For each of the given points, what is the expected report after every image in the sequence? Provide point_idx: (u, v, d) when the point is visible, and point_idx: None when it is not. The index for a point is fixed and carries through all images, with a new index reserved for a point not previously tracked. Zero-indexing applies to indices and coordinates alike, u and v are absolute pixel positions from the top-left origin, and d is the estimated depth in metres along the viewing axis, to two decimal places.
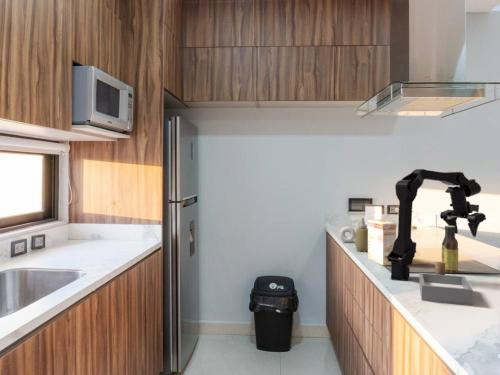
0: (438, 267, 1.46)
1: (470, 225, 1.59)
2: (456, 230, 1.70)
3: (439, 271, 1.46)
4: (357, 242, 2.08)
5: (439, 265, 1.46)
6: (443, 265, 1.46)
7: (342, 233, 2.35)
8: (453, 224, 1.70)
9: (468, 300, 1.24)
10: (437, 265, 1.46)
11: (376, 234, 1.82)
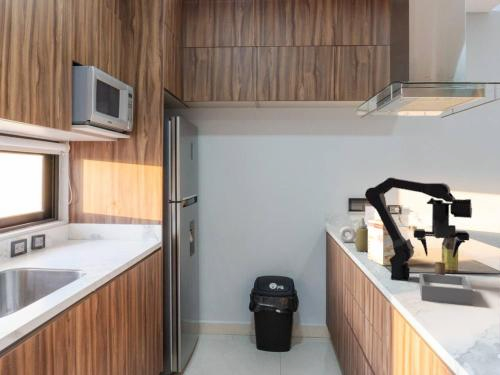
0: (438, 267, 1.46)
1: None
2: (453, 253, 1.46)
3: (439, 271, 1.46)
4: (357, 242, 2.08)
5: (439, 265, 1.46)
6: (443, 265, 1.46)
7: (342, 233, 2.35)
8: (454, 246, 1.46)
9: (468, 300, 1.24)
10: (437, 265, 1.46)
11: (376, 234, 1.82)
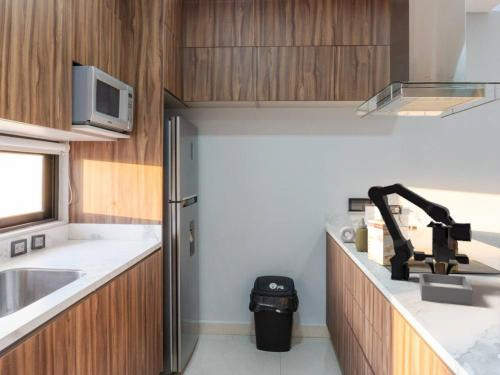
0: (438, 267, 1.46)
1: None
2: None
3: (439, 271, 1.46)
4: (357, 242, 2.08)
5: (439, 265, 1.46)
6: (443, 265, 1.45)
7: (342, 233, 2.35)
8: (446, 268, 1.47)
9: (468, 300, 1.24)
10: (437, 265, 1.46)
11: (376, 234, 1.82)
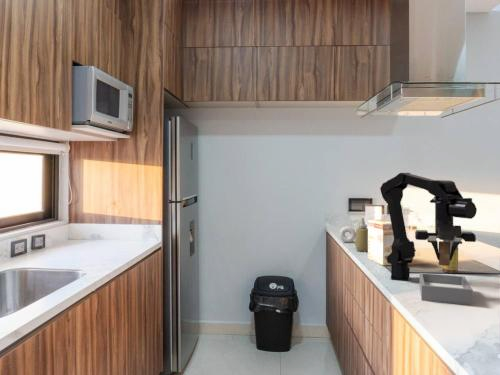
0: (442, 246, 1.35)
1: None
2: None
3: (443, 250, 1.35)
4: (357, 242, 2.08)
5: (443, 244, 1.35)
6: (447, 244, 1.35)
7: (342, 233, 2.35)
8: (450, 247, 1.36)
9: (468, 300, 1.24)
10: (441, 244, 1.35)
11: (376, 234, 1.82)
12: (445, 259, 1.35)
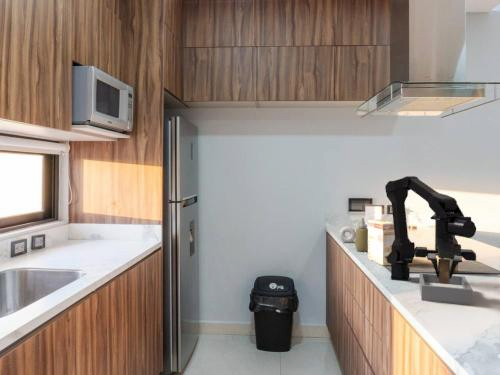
0: (442, 264, 1.33)
1: None
2: None
3: (443, 268, 1.33)
4: (357, 242, 2.08)
5: (443, 262, 1.33)
6: (447, 262, 1.32)
7: (342, 233, 2.35)
8: (450, 265, 1.34)
9: (468, 300, 1.24)
10: (441, 262, 1.33)
11: (376, 234, 1.82)
12: (444, 277, 1.33)
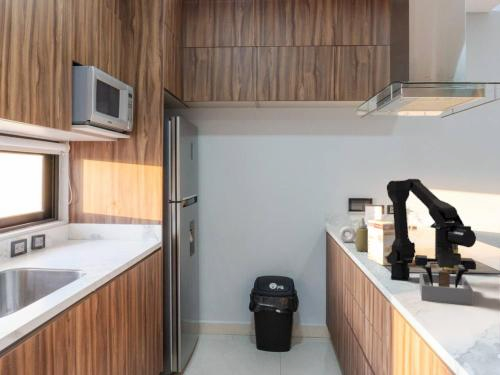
0: (442, 276, 1.33)
1: None
2: (455, 282, 1.33)
3: (443, 280, 1.33)
4: (357, 242, 2.08)
5: (443, 274, 1.33)
6: (447, 274, 1.32)
7: (342, 233, 2.35)
8: (456, 274, 1.33)
9: (468, 300, 1.24)
10: (441, 274, 1.33)
11: (376, 234, 1.82)
12: None
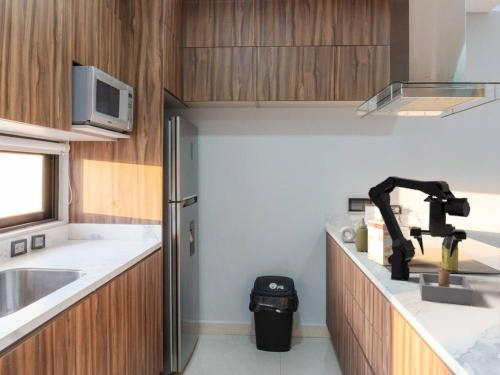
0: (442, 276, 1.33)
1: None
2: None
3: (443, 280, 1.33)
4: (357, 242, 2.08)
5: (443, 274, 1.33)
6: (447, 274, 1.32)
7: (342, 233, 2.35)
8: (451, 245, 1.42)
9: (468, 300, 1.24)
10: (441, 274, 1.33)
11: (376, 234, 1.82)
12: None
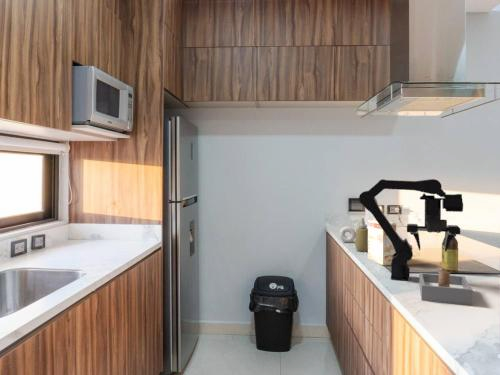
0: (442, 276, 1.33)
1: None
2: None
3: (443, 280, 1.33)
4: (357, 242, 2.08)
5: (443, 274, 1.33)
6: (447, 274, 1.32)
7: (342, 233, 2.35)
8: (445, 240, 1.50)
9: (468, 300, 1.24)
10: (441, 274, 1.33)
11: (376, 234, 1.82)
12: None
